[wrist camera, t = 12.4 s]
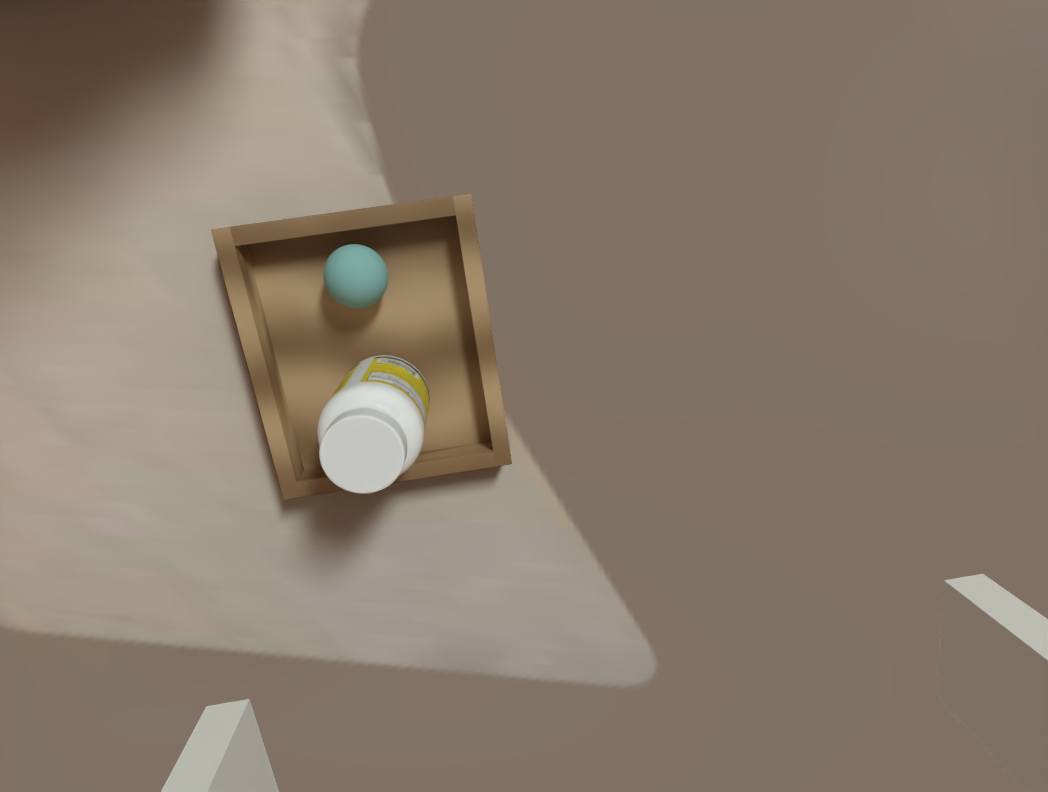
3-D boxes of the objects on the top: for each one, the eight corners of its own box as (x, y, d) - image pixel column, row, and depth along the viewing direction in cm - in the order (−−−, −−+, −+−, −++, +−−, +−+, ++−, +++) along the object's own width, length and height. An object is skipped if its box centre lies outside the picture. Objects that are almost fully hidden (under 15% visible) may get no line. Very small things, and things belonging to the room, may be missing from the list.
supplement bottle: (360, 448, 39) (326, 521, 30) (329, 368, 38) (282, 419, 28) (443, 423, 39) (434, 488, 30) (414, 342, 38) (396, 384, 28)
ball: (324, 247, 36) (309, 250, 33) (385, 238, 36) (376, 241, 33) (337, 307, 37) (324, 317, 34) (397, 299, 37) (390, 307, 34)
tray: (228, 228, 36) (210, 229, 33) (470, 194, 36) (471, 193, 34) (294, 482, 40) (283, 499, 38) (509, 449, 41) (511, 463, 39)
